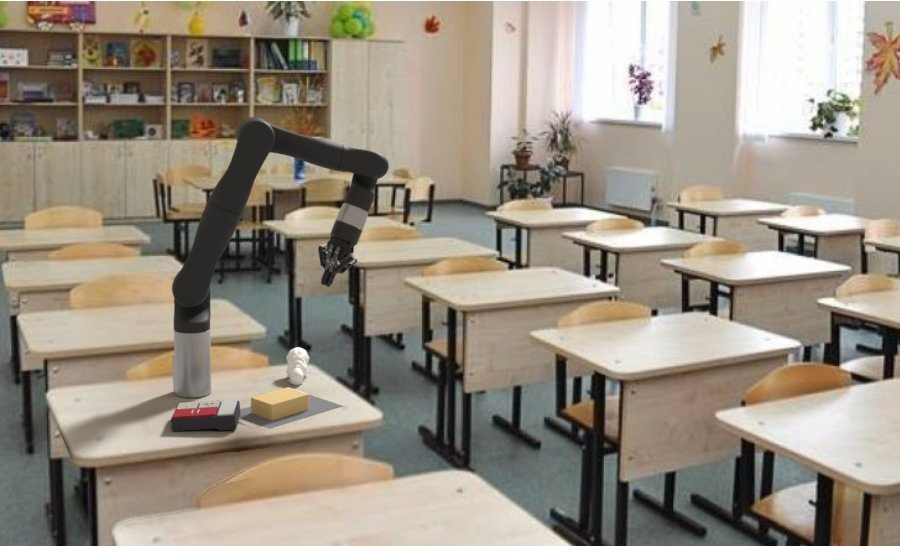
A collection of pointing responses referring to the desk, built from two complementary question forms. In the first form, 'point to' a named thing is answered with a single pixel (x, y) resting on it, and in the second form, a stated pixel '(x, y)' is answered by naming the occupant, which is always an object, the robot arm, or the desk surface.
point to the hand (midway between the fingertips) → (325, 285)
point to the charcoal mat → (315, 408)
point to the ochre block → (279, 403)
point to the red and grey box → (206, 415)
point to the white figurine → (297, 365)
